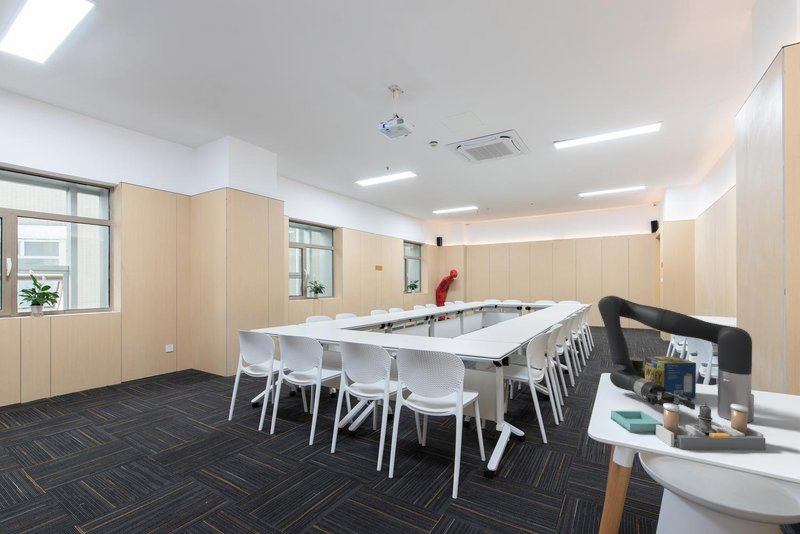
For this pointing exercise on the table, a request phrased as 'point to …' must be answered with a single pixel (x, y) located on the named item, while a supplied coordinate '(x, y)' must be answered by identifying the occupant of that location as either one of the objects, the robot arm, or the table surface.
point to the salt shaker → (705, 420)
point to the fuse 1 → (671, 418)
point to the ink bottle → (638, 366)
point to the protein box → (672, 374)
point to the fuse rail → (712, 438)
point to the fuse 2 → (739, 418)
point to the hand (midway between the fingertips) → (681, 406)
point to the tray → (635, 421)
